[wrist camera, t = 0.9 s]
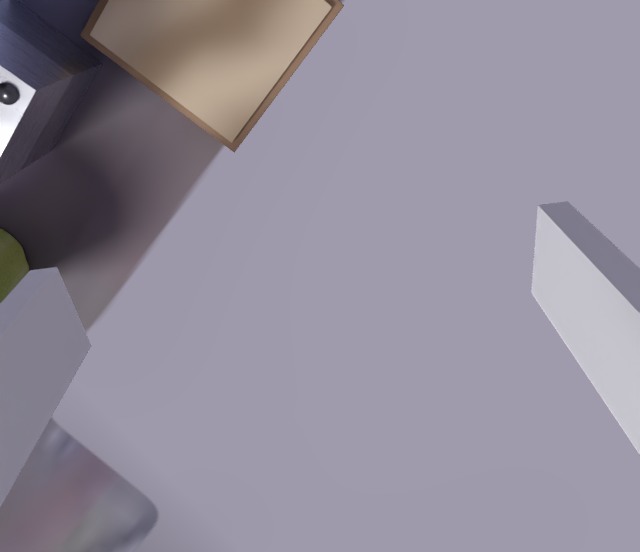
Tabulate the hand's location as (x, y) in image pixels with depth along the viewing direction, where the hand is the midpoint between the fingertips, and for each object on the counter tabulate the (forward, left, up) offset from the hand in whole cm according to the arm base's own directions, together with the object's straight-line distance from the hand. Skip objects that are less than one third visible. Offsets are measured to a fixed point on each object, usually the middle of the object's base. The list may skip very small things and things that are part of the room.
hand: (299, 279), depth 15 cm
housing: (-15, -10, -23) cm, 29 cm away
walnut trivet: (-8, 0, -23) cm, 24 cm away
